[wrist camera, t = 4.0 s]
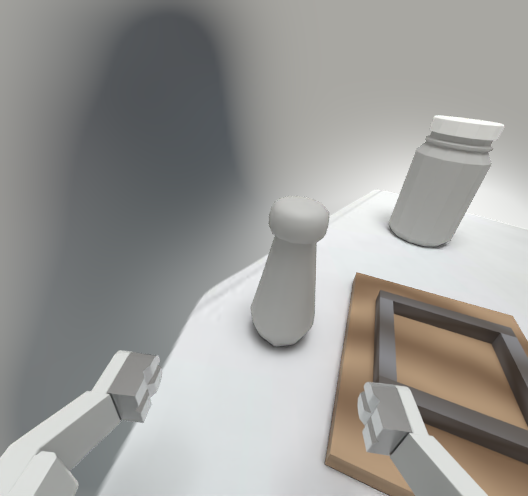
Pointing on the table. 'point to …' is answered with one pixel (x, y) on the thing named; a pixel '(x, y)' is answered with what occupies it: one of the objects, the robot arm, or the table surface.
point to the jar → (443, 179)
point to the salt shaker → (290, 271)
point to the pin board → (435, 384)
